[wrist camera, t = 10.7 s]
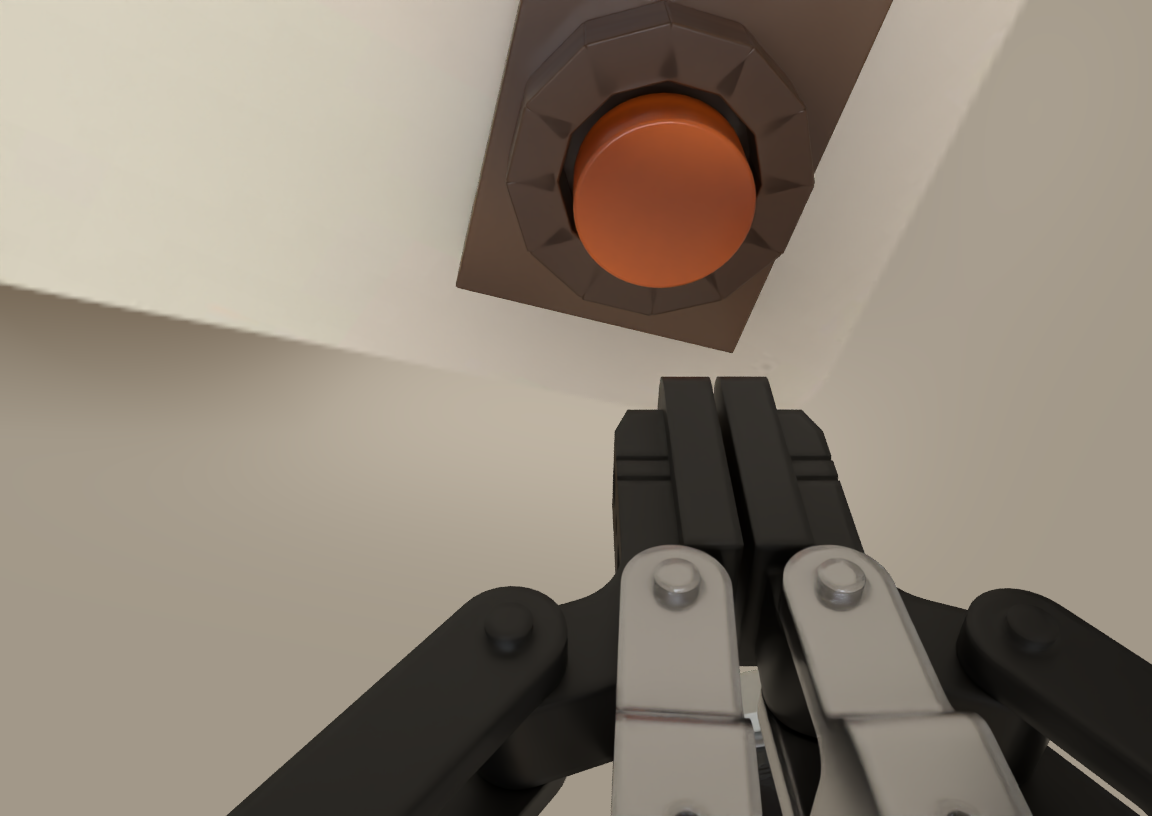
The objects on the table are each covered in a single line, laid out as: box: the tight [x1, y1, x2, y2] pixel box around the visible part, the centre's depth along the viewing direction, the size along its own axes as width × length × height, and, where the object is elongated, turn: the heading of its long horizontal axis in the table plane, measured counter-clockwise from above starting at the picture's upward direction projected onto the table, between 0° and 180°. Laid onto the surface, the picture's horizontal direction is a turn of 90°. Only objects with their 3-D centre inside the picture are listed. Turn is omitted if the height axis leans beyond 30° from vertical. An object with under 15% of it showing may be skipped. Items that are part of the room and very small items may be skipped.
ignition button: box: [573, 93, 756, 288], centre depth 21 cm, size 4×4×2 cm
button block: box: [456, 0, 893, 353], centre depth 23 cm, size 10×8×4 cm
